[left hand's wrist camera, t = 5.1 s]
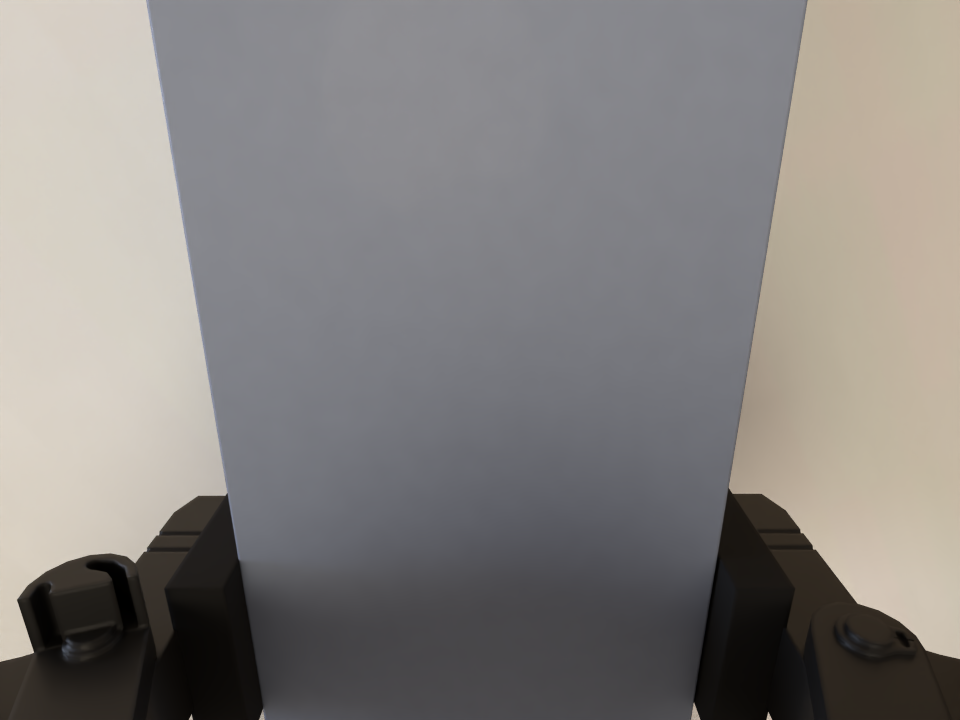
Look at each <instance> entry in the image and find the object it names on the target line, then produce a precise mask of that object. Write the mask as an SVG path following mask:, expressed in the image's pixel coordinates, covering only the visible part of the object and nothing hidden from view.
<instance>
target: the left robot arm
mask: <svg viewBox="0 0 960 720" xmlns="http://www.w3.org/2000/svg"><path fill="white" fill-rule="evenodd" d="M17 601H18V604H19V607H20V610H21V613H22V616H23V619H24V622H25V626H26V629H27V632H28V635H29V638H30V641H31V644H32V647H33V650H34V653H33V654H30V655H26V656H23V657H19V658H15V659H11V660H6V661H2V662H0V720H189V718H190V716H191V714H192V717H193V720H259V718H260V715H261V713H262V710H263V702H262V696H261V690H260V684H259V678H258V672H257V666H256V660H255V654H254V648H253V642H252V636H251V629H250V623H249V617H248V611H247V605H246V599H245V593H244V587H243V581H242V575H241V569H240V563H239V559H238V553H237V547H236V541H235V535H234V529H233V523H232V517H231V511H230V505H229V499H228V493H227V495H226V496H198V497H196V498H195V499H193V500H192V501H190V502H189V503H187V504H186V505H184V506H183V507H182V508H180V509H179V510H177V511H176V512H174V514H173V515H172V516H171V517H170V519H169V520H168V521H167V523H166V524H165V525H164V527H163V528H162V529H161V531H160V534H159V536H156V537H155V538H154V540H153V541H152V542H151V544H150V545H149V546H148V547H147V552H144V553H143V554H142V555H141V557H140V558H139V559H138V561H137V562H136V563H134V562H133V561H131V560H130V559H129V558H128V557H126V556H121V555H116V554H99V555H89V556H86V557H82V558H78V559H75V560H71V561H68V562H66V563H64V564H62V565H59V566H57V567H55V568H53V569H51V570H49V571H47V572H45V573H44V574H43V575H41V576H40V577H39V578H37V579H36V580H35V581H33V582H32V583H31V584H29V585H28V586H27V587H26V589H25V590H24V591H23V593H22V594H21V595H20V597H19V598H18V599H17ZM694 703H695V706H696V709H697V711H698V714H699V717H700V720H766V719H767V714H768V712H769V714H770V716H771V718H772V720H960V659H956V658H952V657H948V656H943V655H939V654H936V653H932V652H929V651H926V650H925V649H924V647H923V646H922V644H921V643H920V641H919V640H918V638H917V637H916V636H915V635H914V634H913V633H912V632H911V631H910V630H908V629H907V628H906V627H905V626H904V625H903V624H901V623H900V622H899V621H897V620H895V619H893V618H892V617H890V616H888V615H886V614H884V613H882V612H880V611H879V610H875V609H872V608H869V607H866V606H863V605H860V604H857V603H856V601H855V600H854V599H853V597H852V596H851V595H850V593H849V592H848V591H847V590H846V588H845V587H844V586H843V584H842V583H841V582H840V581H839V579H838V578H837V577H836V575H835V574H834V573H833V571H832V570H831V569H830V568H829V566H828V565H827V564H826V562H825V561H824V560H823V558H822V557H821V556H820V555H819V553H818V552H817V551H816V550H813V545H812V544H811V543H810V542H809V540H808V539H807V538H806V536H805V535H804V534H803V533H800V529H799V527H798V526H797V525H796V523H795V522H794V521H793V520H792V518H791V517H790V516H789V514H788V513H787V512H786V510H784V509H783V508H781V507H780V506H778V505H777V504H775V503H774V502H772V501H771V500H769V499H768V498H767V497H765V496H764V495H762V494H732V492H731V491H730V489H729V488H728V493H727V500H726V506H725V512H724V518H723V524H722V530H721V537H720V543H719V549H718V555H717V561H716V567H715V574H714V580H713V586H712V592H711V598H710V604H709V611H708V617H707V623H706V629H705V635H704V641H703V648H702V654H701V660H700V666H699V672H698V679H697V685H696V691H695V697H694Z"/></svg>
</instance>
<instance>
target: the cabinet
mask: <svg viewBox="0 0 960 720" xmlns="http://www.w3.org/2000/svg"><path fill="white" fill-rule="evenodd" d="M146 1H147V8H148V14H149V20H150V26H151V32H152V38H153V44H154V50H155V56H156V62H157V68H158V74H159V80H160V86H161V92H162V98H163V104H164V111H165V117H166V123H167V129H168V135H169V141H170V147H171V153H172V159H173V165H174V171H175V177H176V183H177V189H178V195H179V201H180V208H181V214H182V220H183V226H184V232H185V238H186V244H187V250H188V256H189V262H190V268H191V274H192V280H193V286H194V292H195V298H196V305H197V311H198V317H199V323H200V329H201V335H202V341H203V347H204V353H205V359H206V365H207V371H208V377H209V383H210V389H211V395H212V402H213V408H214V414H215V420H216V426H217V432H218V438H219V444H220V450H221V456H222V462H223V468H224V474H225V480H226V486H227V492H228V499H229V505H230V511H231V517H232V523H233V529H234V535H235V541H236V547H237V553H238V559H239V563H240V569H241V575H242V581H243V587H244V593H245V599H246V605H247V611H248V617H249V623H250V629H251V636H252V642H253V648H254V654H255V660H256V666H257V672H258V678H259V684H260V690H261V696H262V702H263V711H264V717H265V720H691V716H692V709H693V703H694V697H695V691H696V685H697V679H698V672H699V666H700V660H701V654H702V648H703V641H704V635H705V629H706V623H707V617H708V611H709V604H710V598H711V592H712V586H713V580H714V574H715V567H716V561H717V555H718V549H719V543H720V537H721V530H722V524H723V518H724V512H725V506H726V500H727V493H728V487H729V481H730V475H731V469H732V463H733V456H734V450H735V444H736V438H737V432H738V426H739V419H740V413H741V407H742V401H743V395H744V389H745V382H746V376H747V370H748V364H749V358H750V352H751V345H752V339H753V333H754V327H755V321H756V315H757V308H758V302H759V296H760V290H761V284H762V278H763V271H764V265H765V259H766V253H767V247H768V241H769V234H770V228H771V222H772V216H773V210H774V204H775V197H776V191H777V185H778V179H779V173H780V167H781V160H782V154H783V148H784V142H785V136H786V130H787V123H788V117H789V111H790V105H791V99H792V93H793V86H794V80H795V74H796V68H797V62H798V56H799V49H800V43H801V37H802V31H803V25H804V19H805V12H806V6H807V0H146Z"/></svg>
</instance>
